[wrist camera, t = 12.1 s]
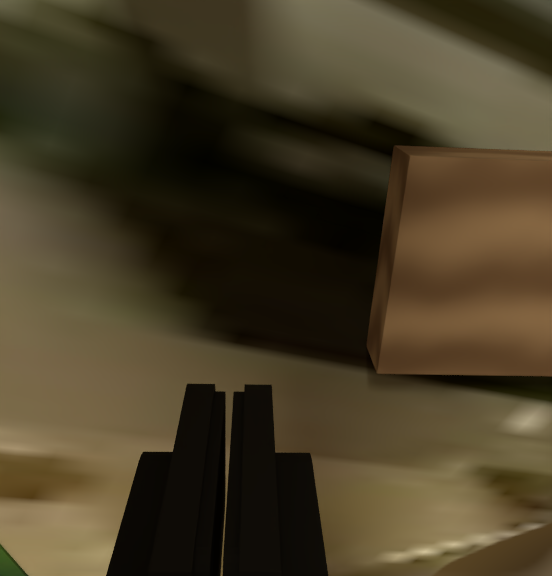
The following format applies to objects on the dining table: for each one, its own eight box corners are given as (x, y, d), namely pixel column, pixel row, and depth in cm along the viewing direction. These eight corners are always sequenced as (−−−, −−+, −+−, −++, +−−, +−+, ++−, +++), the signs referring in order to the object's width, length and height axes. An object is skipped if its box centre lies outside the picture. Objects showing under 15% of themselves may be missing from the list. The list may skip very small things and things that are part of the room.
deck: (393, 145, 34) (410, 155, 31) (618, 154, 35) (659, 165, 32) (366, 345, 41) (377, 373, 37) (555, 348, 42) (583, 376, 38)
